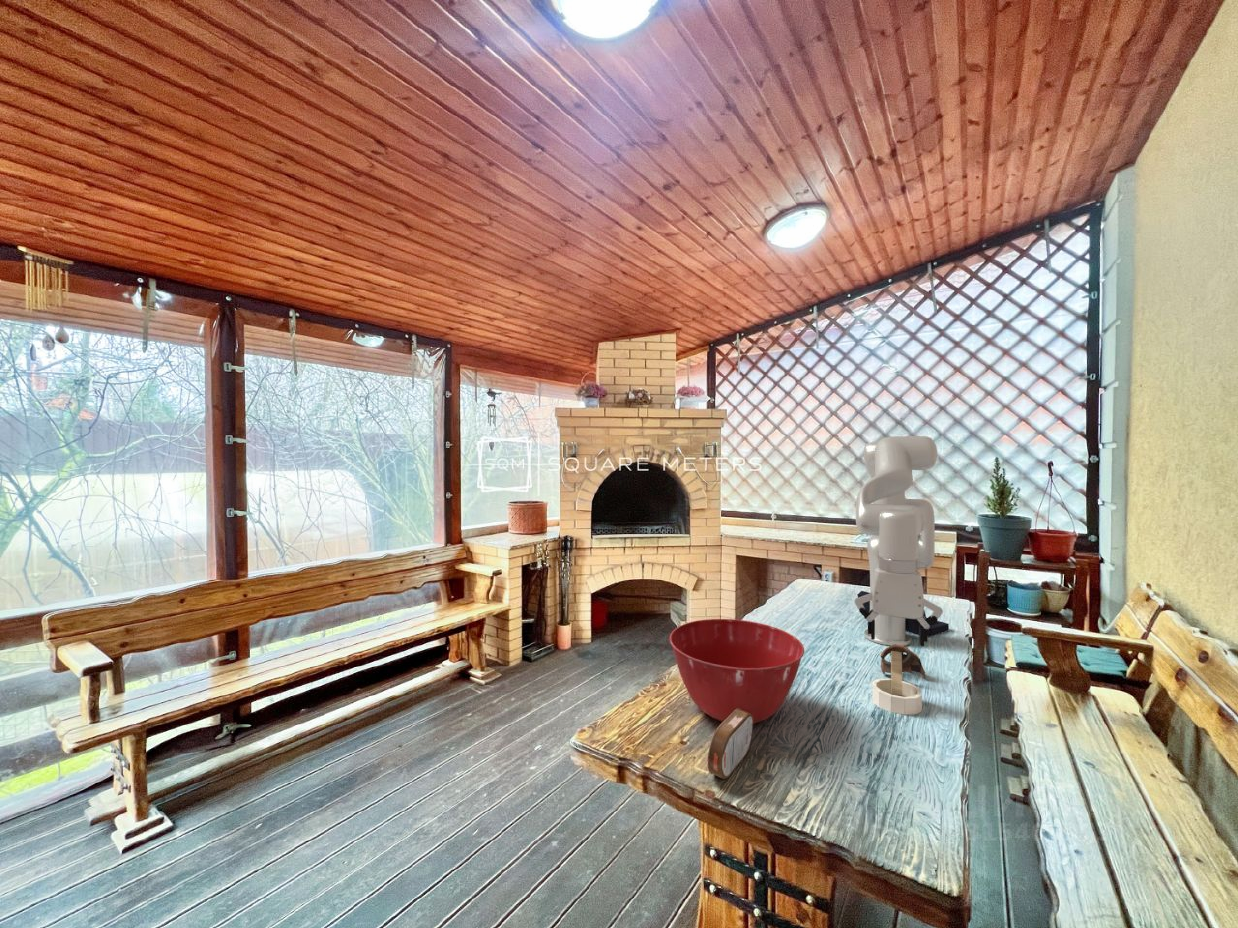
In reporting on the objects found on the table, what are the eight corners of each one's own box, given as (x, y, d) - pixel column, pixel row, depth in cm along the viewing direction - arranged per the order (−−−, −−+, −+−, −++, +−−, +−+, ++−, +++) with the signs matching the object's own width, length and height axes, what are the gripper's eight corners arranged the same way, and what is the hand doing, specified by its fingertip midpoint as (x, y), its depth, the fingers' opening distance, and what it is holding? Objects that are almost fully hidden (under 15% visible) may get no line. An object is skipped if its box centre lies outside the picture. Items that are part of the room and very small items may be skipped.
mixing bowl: (827, 709, 111) (827, 639, 111) (758, 765, 91) (759, 680, 91) (718, 670, 131) (718, 610, 131) (643, 709, 111) (643, 639, 111)
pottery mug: (935, 686, 122) (921, 658, 121) (896, 698, 125) (882, 671, 123) (914, 656, 134) (902, 630, 133) (879, 668, 136) (866, 643, 135)
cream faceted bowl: (871, 690, 120) (872, 675, 120) (919, 698, 116) (919, 683, 116) (872, 708, 111) (872, 692, 111) (923, 718, 107) (923, 701, 107)
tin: (740, 742, 98) (740, 699, 98) (756, 748, 97) (756, 704, 96) (705, 783, 86) (705, 734, 86) (722, 790, 84) (723, 740, 84)
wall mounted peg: (885, 697, 115) (884, 650, 119) (907, 701, 113) (906, 653, 117) (886, 698, 112) (885, 649, 115) (909, 702, 110) (908, 652, 113)
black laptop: (948, 631, 161) (949, 600, 160) (918, 640, 153) (919, 607, 153) (886, 613, 179) (886, 585, 179) (856, 620, 171) (857, 591, 171)
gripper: (940, 565, 113) (939, 640, 114) (855, 558, 120) (854, 629, 121) (946, 573, 106) (944, 653, 107) (854, 565, 114) (854, 640, 114)
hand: (896, 640), depth 114 cm, fingers open, 9 cm apart
